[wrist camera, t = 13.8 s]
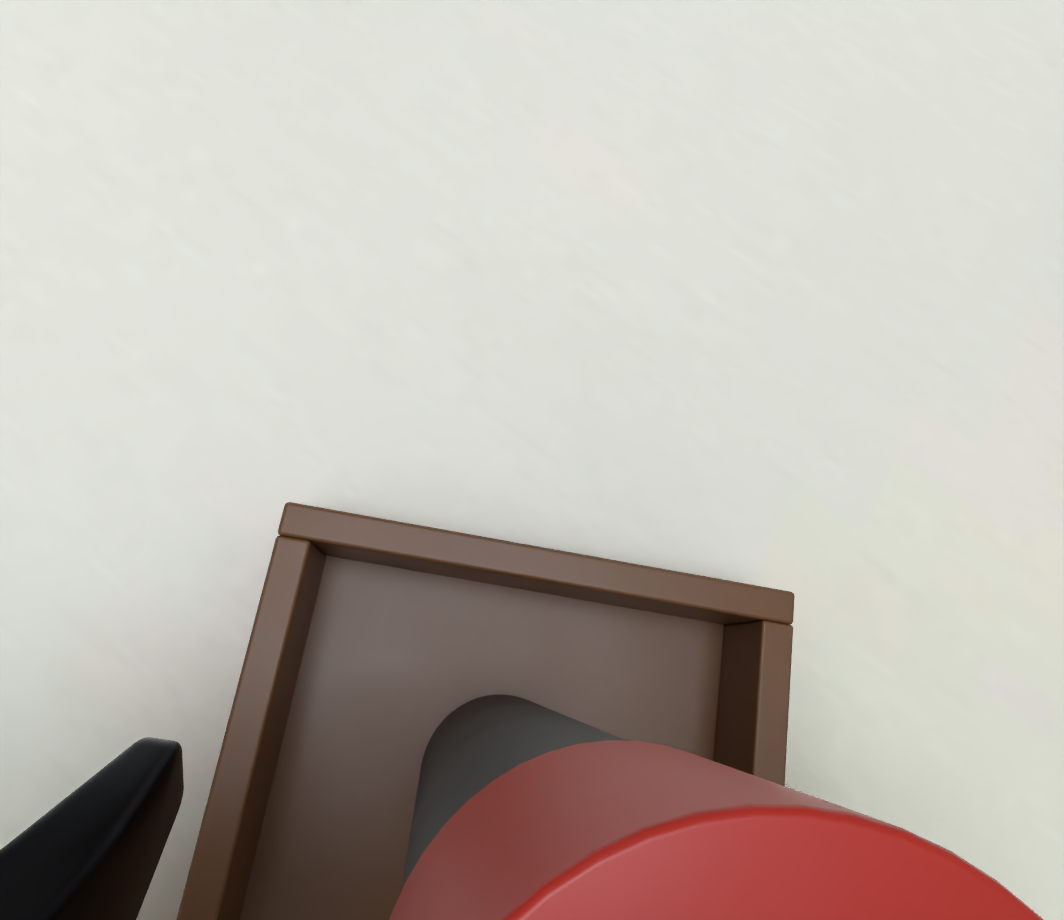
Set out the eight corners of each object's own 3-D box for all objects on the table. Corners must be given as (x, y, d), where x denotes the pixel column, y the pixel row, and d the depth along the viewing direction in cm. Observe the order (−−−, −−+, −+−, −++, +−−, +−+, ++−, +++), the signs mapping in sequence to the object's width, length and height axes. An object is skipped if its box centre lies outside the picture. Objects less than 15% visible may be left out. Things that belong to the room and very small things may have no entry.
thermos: (440, 892, 15) (462, 2531, 2) (397, 718, 16) (195, 999, 3) (600, 832, 16) (1450, 1716, 3) (551, 668, 17) (1006, 692, 3)
